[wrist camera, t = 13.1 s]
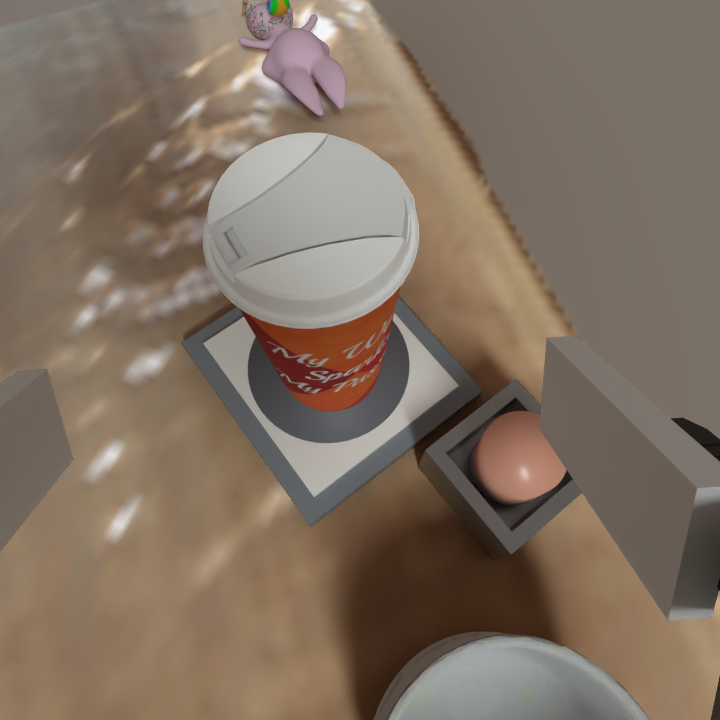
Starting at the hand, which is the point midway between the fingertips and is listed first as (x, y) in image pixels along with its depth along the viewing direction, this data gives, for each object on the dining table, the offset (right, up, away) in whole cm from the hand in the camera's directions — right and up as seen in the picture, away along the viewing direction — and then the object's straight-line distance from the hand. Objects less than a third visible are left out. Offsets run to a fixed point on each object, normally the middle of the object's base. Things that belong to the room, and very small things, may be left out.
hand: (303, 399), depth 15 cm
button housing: (+9, -5, +15) cm, 18 cm away
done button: (+9, -4, +13) cm, 16 cm away
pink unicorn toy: (-3, +23, +27) cm, 36 cm away
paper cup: (0, +1, +17) cm, 17 cm away
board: (0, 0, +18) cm, 18 cm away
